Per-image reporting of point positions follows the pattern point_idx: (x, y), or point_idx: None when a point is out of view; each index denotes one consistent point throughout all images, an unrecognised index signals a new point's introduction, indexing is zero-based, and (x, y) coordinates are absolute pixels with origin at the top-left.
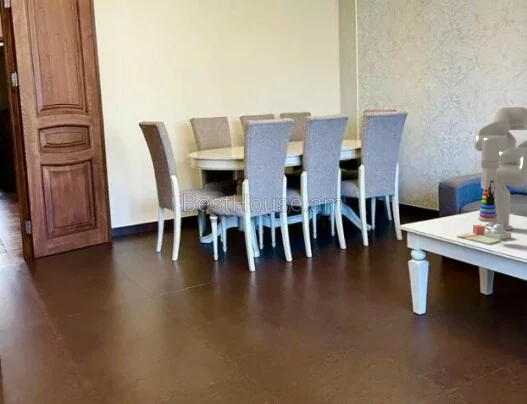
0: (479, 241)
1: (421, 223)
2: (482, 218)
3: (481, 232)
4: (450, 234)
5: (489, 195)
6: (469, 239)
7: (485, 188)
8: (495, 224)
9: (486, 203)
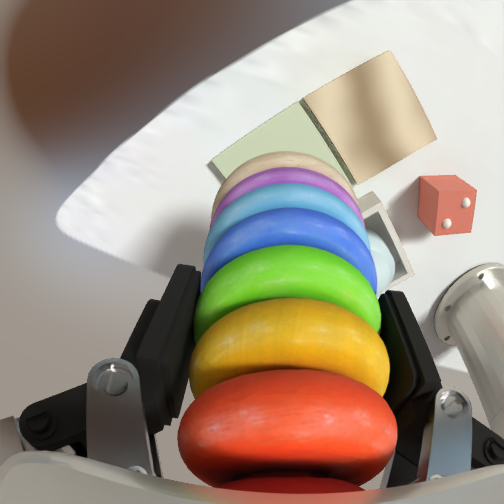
0: (261, 125)
1: None
2: (242, 170)
3: (423, 204)
4: (447, 52)
5: (84, 386)
6: (317, 89)
7: (1, 473)
8: (377, 278)
9: (174, 274)
